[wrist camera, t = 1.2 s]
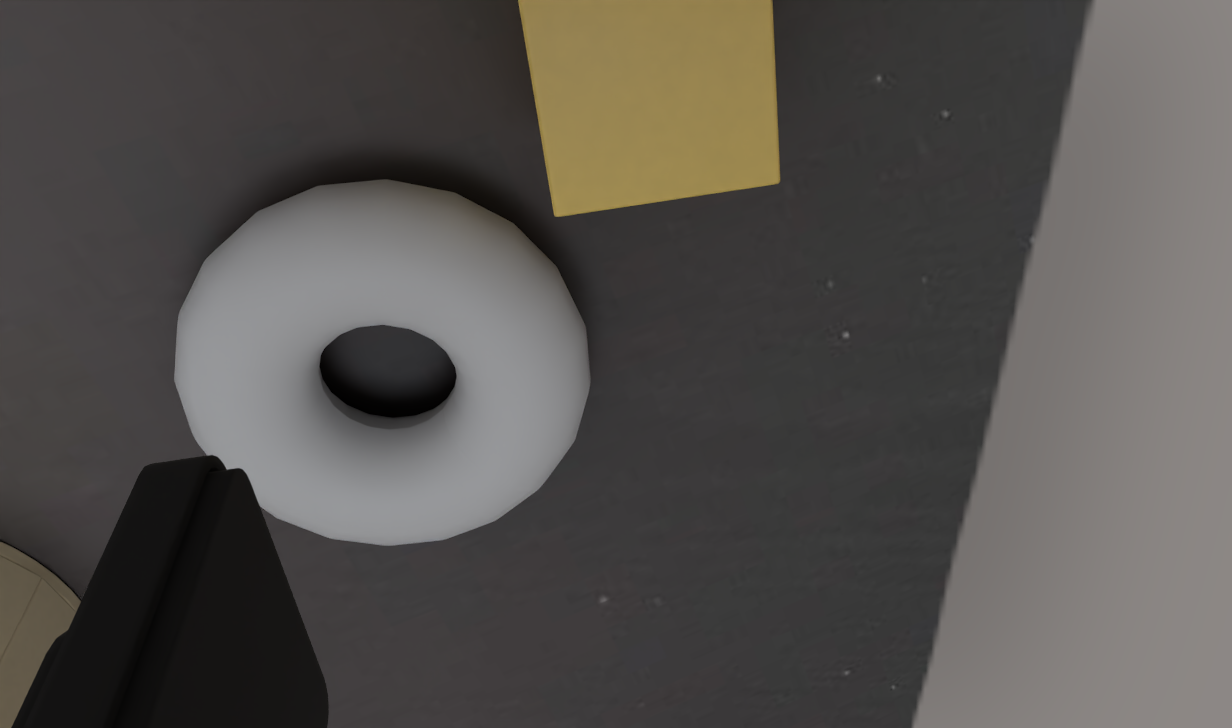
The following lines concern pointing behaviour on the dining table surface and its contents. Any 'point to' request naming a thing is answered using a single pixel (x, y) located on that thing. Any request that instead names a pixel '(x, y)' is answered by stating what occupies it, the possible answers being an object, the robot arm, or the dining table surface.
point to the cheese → (652, 98)
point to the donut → (395, 296)
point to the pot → (27, 624)
